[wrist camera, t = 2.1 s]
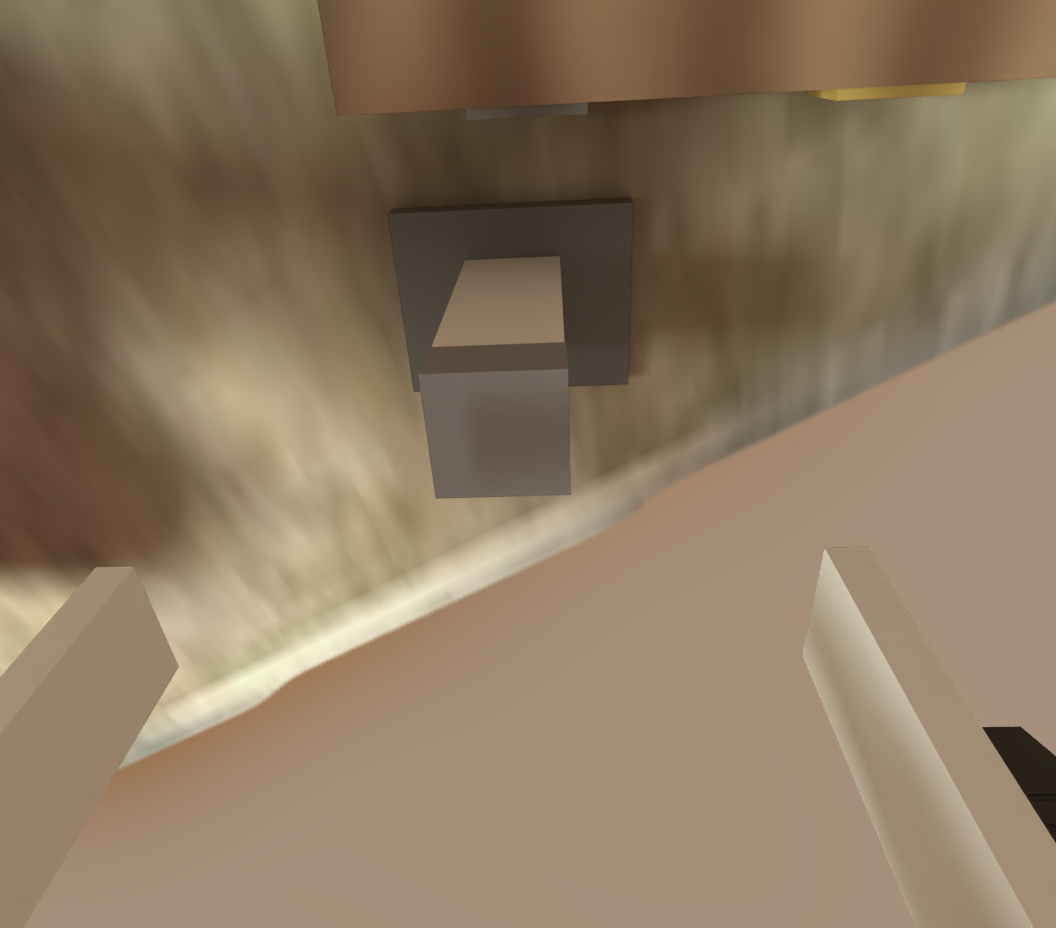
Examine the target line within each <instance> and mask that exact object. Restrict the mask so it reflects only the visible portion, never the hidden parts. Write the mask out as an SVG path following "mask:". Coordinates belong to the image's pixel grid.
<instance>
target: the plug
mask: <svg viewBox="0 0 1056 928" xmlns="http://www.w3.org/2000/svg"><path fill="white" fill-rule="evenodd" d="M418 376H419V384H420V391H421V398H422V405H423V412H424V419H425V426H426V433H427V440H428V447H429V454H430V461H431V468H432V475H433V482H434V489H435V496H436V498H473V497H510V496H547V495H571V488H570V440H569V392H568V360H567V344H566V342H565V340H564V322H563V304H562V286H561V268H560V256H549V257H526V258H503V259H479V260H465V262H464V264H463V267H462V269H461V272H460V275H459V277H458V280H457V282H456V285H455V288H454V290H453V293H452V295H451V298H450V300H449V303H448V306H447V308H446V311H445V313H444V316H443V318H442V321H441V324H440V326H439V329H438V331H437V334H436V337H435V339H434V342H433V344H432V347H429V348H428V351H427V353H426V356H425V358H424V361H423V363H422V366H421V368H420V371H419V374H418Z"/></svg>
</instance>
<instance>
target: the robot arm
mask: <svg viewBox="0 0 1056 928" xmlns="http://www.w3.org/2000/svg"><path fill="white" fill-rule="evenodd" d="M802 655H803V658H804V660H805V663H806V665H807V667H808V670H809V672H810V675H811V677H812V679H813V682H814V684H815V687H816V689H817V691H818V694H819V696H820V699H821V701H822V703H823V706H824V708H825V711H826V713H827V715H828V718H829V720H830V722H831V725H832V727H833V730H834V732H835V734H836V737H837V739H838V742H839V744H840V746H841V749H842V751H843V754H844V756H845V758H846V761H847V763H848V766H849V768H850V770H851V773H852V775H853V777H854V780H855V782H856V785H857V787H858V790H859V792H860V794H861V797H862V799H863V801H864V804H865V806H866V809H867V811H868V814H869V816H870V818H871V821H872V823H873V825H874V828H875V830H876V833H877V835H878V838H879V840H880V842H881V845H882V847H883V850H884V852H885V854H886V857H887V859H888V862H889V864H890V866H891V869H892V871H893V873H894V876H895V878H896V880H897V883H898V886H899V888H900V890H901V893H902V895H903V898H904V900H905V902H906V905H907V907H908V909H909V912H910V914H911V917H912V919H913V921H914V924H915V926H916V928H1056V756H1054V754H1052V753H1051V752H1050V751H1049V750H1048V749H1046V748H1045V747H1044V746H1043V745H1042V744H1040V743H1039V742H1038V741H1037V740H1036V739H1034V738H1033V737H1032V736H1031V735H1030V734H1028V733H1027V732H1026V731H1025V730H1024V729H1022V728H1021V727H982V726H981V725H980V723H979V722H978V720H977V719H976V717H975V716H974V714H973V712H972V711H971V709H970V708H969V706H968V705H967V703H966V701H965V700H964V698H963V697H962V695H961V694H960V692H959V690H958V689H957V687H956V686H955V684H954V683H953V681H952V679H951V678H950V677H949V675H948V673H947V672H946V670H945V669H944V667H943V665H942V664H941V662H940V661H939V659H938V658H937V656H936V654H935V653H934V651H933V650H932V648H931V646H930V645H929V643H928V642H927V640H926V639H925V637H924V636H923V634H922V632H921V631H920V629H919V628H918V626H917V624H916V623H915V621H914V620H913V618H912V617H911V615H910V614H909V612H908V610H907V609H906V607H905V606H904V604H903V602H902V601H901V599H900V598H899V596H898V595H897V593H896V591H895V590H894V588H893V587H892V585H891V584H890V582H889V580H888V579H887V577H886V576H885V574H884V573H883V571H882V569H881V568H880V566H879V565H878V563H877V562H876V560H875V559H874V557H873V555H872V554H871V552H870V551H869V549H868V547H838V548H824V553H823V558H822V562H821V567H820V572H819V577H818V581H817V586H816V591H815V596H814V600H813V605H812V610H811V615H810V620H809V624H808V629H807V634H806V638H805V643H804V648H803V653H802ZM178 667H179V666H178V664H177V662H176V659H175V657H174V655H173V653H172V650H171V648H170V646H169V644H168V641H167V639H166V637H165V635H164V632H163V630H162V628H161V626H160V623H159V621H158V619H157V617H156V614H155V612H154V610H153V608H152V605H151V603H150V601H149V599H148V596H147V594H146V592H145V590H144V588H143V585H142V583H141V581H140V579H139V576H138V574H137V572H136V570H135V567H134V566H129V567H96V568H95V569H94V570H93V571H92V572H91V574H90V575H89V576H88V577H87V578H86V579H85V580H84V582H83V583H82V584H81V585H80V586H79V587H78V589H77V590H76V591H75V592H74V593H73V594H72V595H71V597H70V598H69V599H68V600H67V601H66V602H65V603H64V605H63V606H62V607H61V608H60V609H59V610H58V612H57V613H56V614H55V615H54V616H53V617H52V618H51V620H50V621H49V622H48V623H47V624H46V625H45V627H44V628H43V629H42V630H41V631H40V632H39V633H38V635H37V636H36V637H35V638H34V639H33V640H32V642H31V643H30V644H29V645H28V646H27V647H26V648H25V650H24V651H23V652H22V653H21V654H20V655H19V656H18V658H17V659H16V660H15V661H14V662H13V663H12V665H11V666H10V667H9V668H8V669H7V670H6V671H5V673H4V674H3V675H2V676H1V677H0V928H23V927H24V926H25V923H26V922H27V920H28V919H29V917H30V916H31V914H32V912H33V910H34V909H35V907H36V905H37V904H38V902H39V900H40V899H41V897H42V895H43V894H44V892H45V890H46V889H47V887H48V885H49V884H50V881H51V880H52V879H53V877H54V875H55V874H56V872H57V870H58V869H59V867H60V865H61V863H62V862H63V860H64V858H65V857H66V855H67V853H68V852H69V850H70V848H71V847H72V845H73V843H74V842H75V840H76V838H77V836H78V835H79V833H80V831H81V830H82V828H83V827H84V825H85V823H86V821H87V820H88V818H89V816H90V815H91V813H92V811H93V810H94V808H95V806H96V805H97V803H98V801H99V800H100V798H101V796H102V794H103V793H104V791H105V790H106V788H107V786H108V785H109V783H110V781H111V780H112V777H113V776H114V774H115V773H116V771H117V769H118V768H119V766H120V764H121V763H122V761H123V759H124V758H125V756H126V754H127V753H128V751H129V749H130V748H131V746H132V744H133V743H134V741H135V739H136V738H137V736H138V734H139V733H140V731H141V729H142V727H143V726H144V724H145V722H146V721H147V719H148V717H149V716H150V714H151V712H152V711H153V709H154V707H155V706H156V704H157V702H158V701H159V699H160V697H161V696H162V694H163V692H164V691H165V689H166V687H167V686H168V684H169V682H170V680H171V679H172V677H173V675H174V674H175V672H176V670H177V669H178Z"/></svg>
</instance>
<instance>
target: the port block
mask: <svg viewBox="0 0 1056 928" xmlns="http://www.w3.org/2000/svg"><path fill="white" fill-rule="evenodd" d="M317 1H318V7H319V13H320V18H321V24H322V30H323V36H324V42H325V48H326V53H327V59H328V65H329V71H330V77H331V83H332V88H333V94H334V100H335V106H336V112H337V116H343V115H361V114H380V113H399V112H418V111H436V110H455V109H466V120H482V119H501V118H520V117H539V116H558V115H577V114H588V102H605V101H624V100H642V99H661V98H680V97H699V96H717V95H736V94H755V93H774V92H792V91H807V95H808V96H813V97H819V98H824V99H829V100H834V101H843V100H862V99H881V98H900V97H919V96H938V95H957V94H964V91H965V86H966V82H980V81H998V80H1017V79H1036V78H1054V77H1056V0H317Z"/></svg>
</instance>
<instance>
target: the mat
mask: <svg viewBox="0 0 1056 928" xmlns="http://www.w3.org/2000/svg"><path fill="white" fill-rule="evenodd" d="M388 220H389V226H390V233H391V240H392V247H393V254H394V260H395V267H396V274H397V281H398V288H399V294H400V301H401V308H402V315H403V321H404V328H405V335H406V342H407V349H408V355H409V362H410V369H411V376H412V383H413V389H414V392H418V391H420V384H419V376H418V374H419V371H420V368H421V366H422V363H423V361H424V358H425V356H426V353H427V351H428V348H429V347H432V344H433V342H434V339H435V337H436V334H437V331H438V329H439V326H440V324H441V321H442V318H443V316H444V313H445V311H446V308H447V306H448V303H449V300H450V298H451V295H452V293H453V290H454V288H455V285H456V282H457V280H458V277H459V275H460V272H461V269H462V267H463V264H464V262H465V260H479V259H503V258H526V257H549V256H560V268H561V286H562V304H563V322H564V340H565V342H566V344H567V360H568V386H592V385H621V384H628V366H629V330H630V294H631V258H632V222H633V202H632V200H631V198H620V199H599V200H577V201H556V202H535V203H513V204H492V205H471V206H449V207H428V208H407V209H392V210H391V211H390V212H389V213H388Z"/></svg>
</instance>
